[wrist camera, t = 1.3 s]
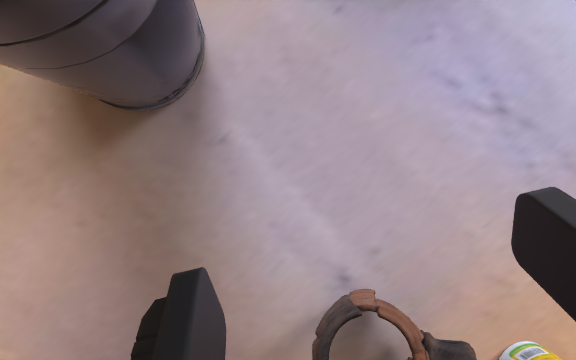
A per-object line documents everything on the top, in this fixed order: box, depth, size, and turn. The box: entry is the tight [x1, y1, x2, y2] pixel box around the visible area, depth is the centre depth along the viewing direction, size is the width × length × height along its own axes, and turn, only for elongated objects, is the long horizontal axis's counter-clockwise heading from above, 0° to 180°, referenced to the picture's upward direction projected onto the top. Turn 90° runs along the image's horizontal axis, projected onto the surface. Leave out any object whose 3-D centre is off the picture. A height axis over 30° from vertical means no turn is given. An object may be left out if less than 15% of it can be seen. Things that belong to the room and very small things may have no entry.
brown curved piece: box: [312, 289, 477, 360], centre depth 29 cm, size 12×10×8 cm
